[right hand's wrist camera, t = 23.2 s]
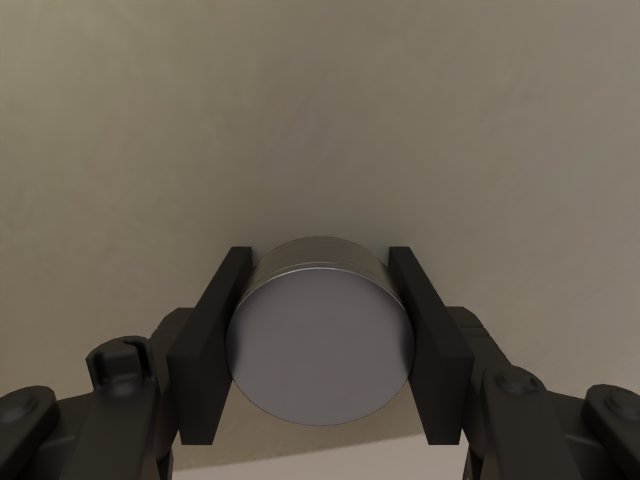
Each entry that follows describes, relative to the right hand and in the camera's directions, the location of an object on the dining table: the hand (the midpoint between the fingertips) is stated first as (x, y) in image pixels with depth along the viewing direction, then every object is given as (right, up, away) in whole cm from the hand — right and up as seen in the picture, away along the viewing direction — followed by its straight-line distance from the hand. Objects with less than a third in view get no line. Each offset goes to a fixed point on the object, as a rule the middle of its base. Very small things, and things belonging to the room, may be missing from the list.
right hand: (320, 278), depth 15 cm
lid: (0, -2, -4) cm, 4 cm away
